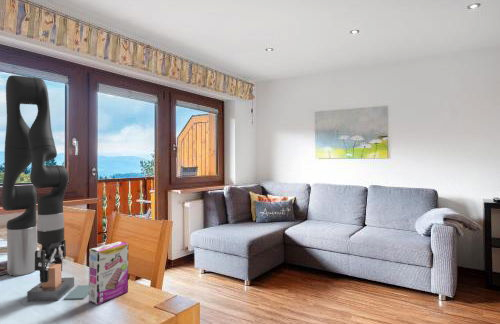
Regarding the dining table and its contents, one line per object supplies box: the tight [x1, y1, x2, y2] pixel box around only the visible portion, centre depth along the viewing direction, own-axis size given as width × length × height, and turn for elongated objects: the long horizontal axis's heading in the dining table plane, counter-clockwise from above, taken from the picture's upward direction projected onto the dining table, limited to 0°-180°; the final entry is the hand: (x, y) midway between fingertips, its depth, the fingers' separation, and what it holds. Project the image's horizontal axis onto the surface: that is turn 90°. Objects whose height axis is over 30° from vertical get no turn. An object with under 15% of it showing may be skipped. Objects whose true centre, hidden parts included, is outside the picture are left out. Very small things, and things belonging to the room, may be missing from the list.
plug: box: [42, 263, 62, 288], centre depth 105 cm, size 4×4×9 cm
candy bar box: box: [88, 241, 129, 306], centre depth 102 cm, size 11×5×16 cm, turn 149°
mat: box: [63, 284, 89, 301], centre depth 106 cm, size 10×6×1 cm, turn 5°
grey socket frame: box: [26, 277, 75, 303], centre depth 105 cm, size 11×9×3 cm
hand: (51, 276), depth 104 cm, fingers open, 8 cm apart
